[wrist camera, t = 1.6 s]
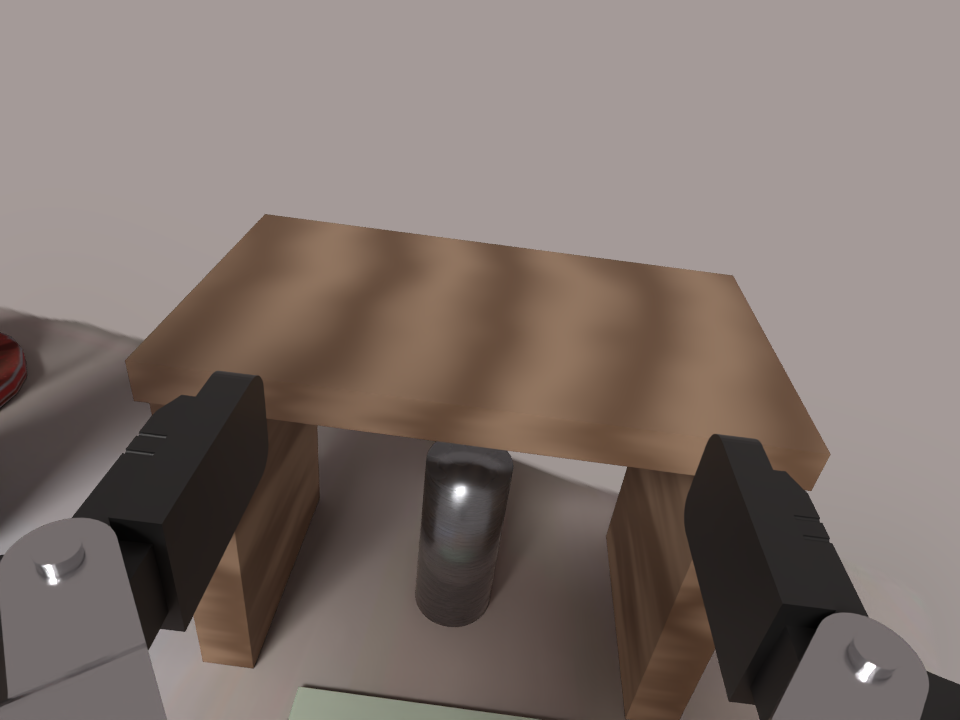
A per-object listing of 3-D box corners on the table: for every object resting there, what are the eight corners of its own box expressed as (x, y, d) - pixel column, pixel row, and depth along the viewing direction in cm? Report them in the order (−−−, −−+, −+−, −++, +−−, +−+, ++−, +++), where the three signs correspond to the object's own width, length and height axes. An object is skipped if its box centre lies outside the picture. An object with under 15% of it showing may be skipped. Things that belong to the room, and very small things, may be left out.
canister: (409, 621, 43) (420, 486, 36) (421, 559, 47) (432, 428, 41) (486, 631, 43) (511, 498, 36) (491, 568, 47) (514, 439, 41)
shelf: (195, 677, 38) (124, 360, 26) (285, 483, 52) (265, 214, 40) (679, 743, 38) (830, 454, 26) (643, 531, 52) (733, 275, 40)
